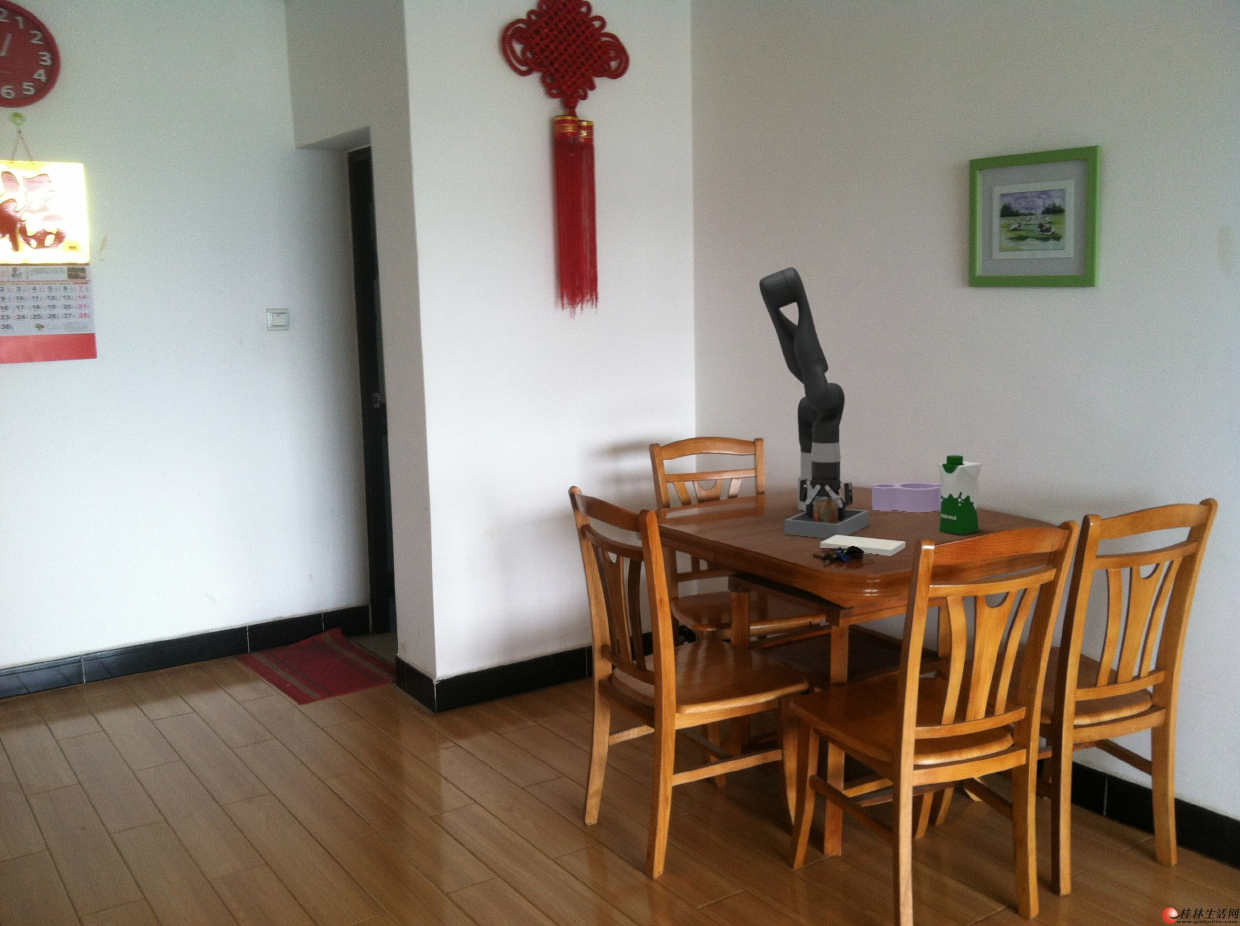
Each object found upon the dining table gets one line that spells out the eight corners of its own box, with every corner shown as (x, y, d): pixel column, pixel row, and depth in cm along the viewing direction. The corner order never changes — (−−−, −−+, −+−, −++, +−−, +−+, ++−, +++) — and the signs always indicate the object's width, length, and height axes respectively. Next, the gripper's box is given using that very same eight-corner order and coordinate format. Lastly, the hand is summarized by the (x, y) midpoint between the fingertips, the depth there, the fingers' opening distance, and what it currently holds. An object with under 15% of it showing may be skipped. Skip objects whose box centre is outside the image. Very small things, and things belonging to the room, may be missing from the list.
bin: (784, 534, 280) (784, 519, 279) (817, 520, 297) (817, 506, 297) (838, 540, 272) (838, 525, 271) (868, 525, 289) (869, 510, 288)
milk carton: (934, 531, 279) (934, 455, 276) (957, 526, 284) (958, 452, 281) (961, 536, 272) (962, 458, 269) (984, 531, 277) (986, 455, 274)
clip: (873, 513, 306) (873, 489, 305) (870, 505, 318) (870, 482, 317) (945, 513, 303) (946, 489, 302) (940, 505, 315) (940, 482, 314)
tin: (822, 536, 277) (822, 504, 276) (811, 535, 279) (811, 503, 278) (843, 525, 290) (843, 495, 289) (832, 524, 292) (832, 494, 290)
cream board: (820, 548, 263) (820, 542, 263) (836, 540, 271) (836, 534, 271) (891, 556, 253) (891, 549, 253) (905, 547, 261) (905, 541, 261)
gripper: (794, 459, 283) (795, 519, 285) (845, 462, 275) (845, 524, 277) (807, 455, 289) (807, 514, 291) (856, 458, 281) (856, 519, 283)
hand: (825, 519), depth 284 cm, fingers open, 8 cm apart
